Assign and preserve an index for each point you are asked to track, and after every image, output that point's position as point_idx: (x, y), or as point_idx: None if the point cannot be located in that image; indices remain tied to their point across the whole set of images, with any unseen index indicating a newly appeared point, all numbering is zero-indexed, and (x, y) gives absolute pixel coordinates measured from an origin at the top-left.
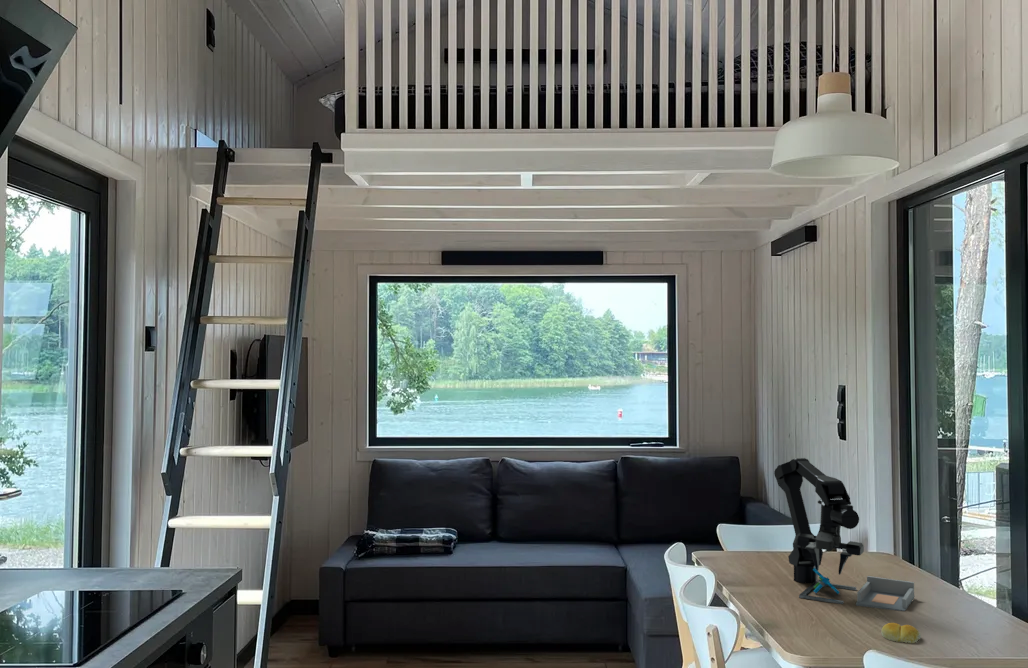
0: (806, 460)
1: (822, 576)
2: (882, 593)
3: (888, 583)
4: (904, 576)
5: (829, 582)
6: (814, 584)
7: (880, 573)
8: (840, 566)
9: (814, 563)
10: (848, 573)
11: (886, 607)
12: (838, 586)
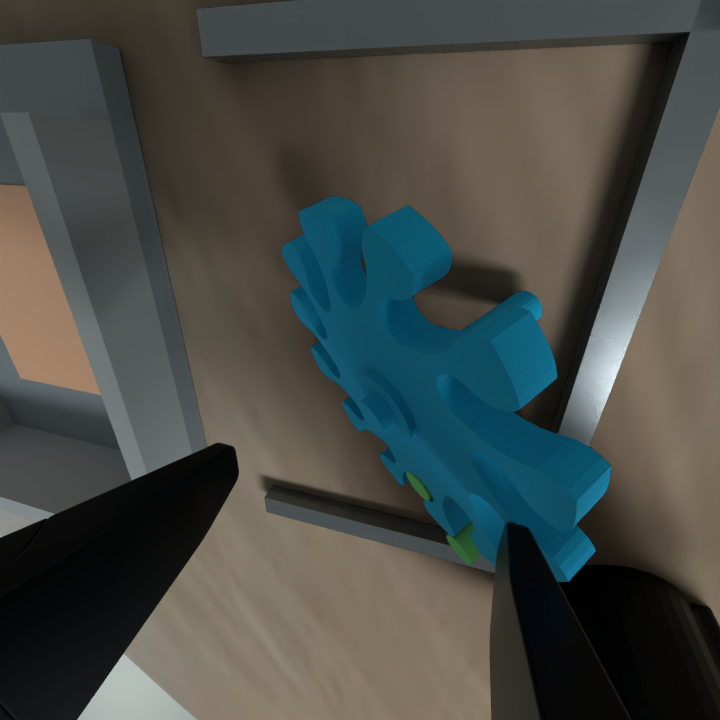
0: None
1: (393, 229)
2: (109, 423)
3: (46, 483)
4: (201, 680)
5: (310, 214)
6: None
7: (274, 708)
8: (115, 507)
9: (587, 640)
10: (379, 715)
11: None
12: (368, 518)
